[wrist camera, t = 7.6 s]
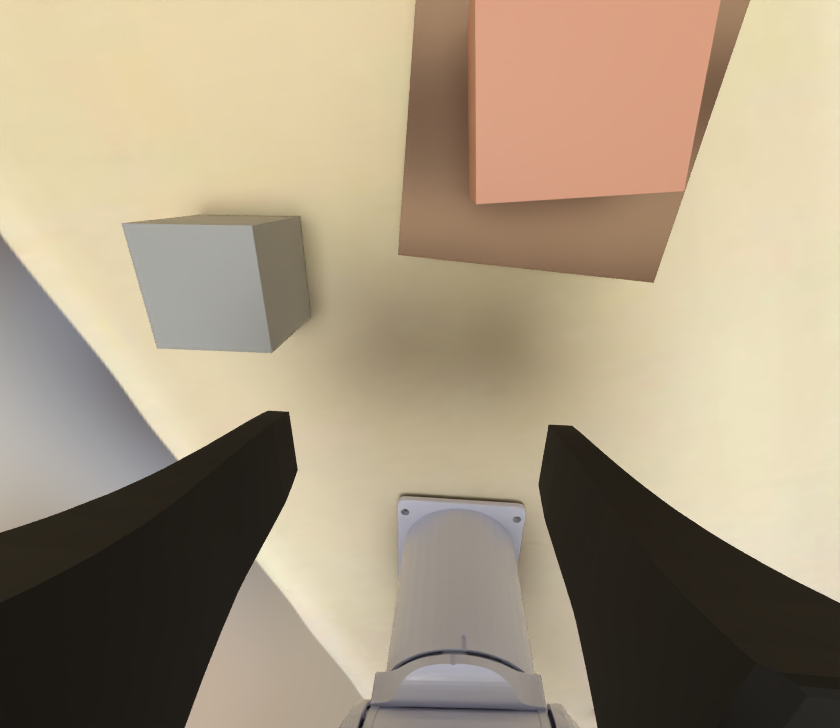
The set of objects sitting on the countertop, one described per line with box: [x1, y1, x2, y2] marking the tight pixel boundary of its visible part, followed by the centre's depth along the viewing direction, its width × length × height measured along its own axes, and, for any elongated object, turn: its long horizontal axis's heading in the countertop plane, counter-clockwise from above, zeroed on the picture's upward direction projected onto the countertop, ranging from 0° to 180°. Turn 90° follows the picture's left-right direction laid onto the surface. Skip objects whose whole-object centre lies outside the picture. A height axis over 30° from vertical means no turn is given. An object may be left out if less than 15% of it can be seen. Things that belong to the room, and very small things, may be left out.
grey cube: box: [122, 215, 311, 353], centre depth 18 cm, size 5×5×5 cm
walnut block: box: [398, 0, 750, 283], centre depth 15 cm, size 10×10×4 cm
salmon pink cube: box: [467, 0, 721, 204], centre depth 11 cm, size 5×5×5 cm
